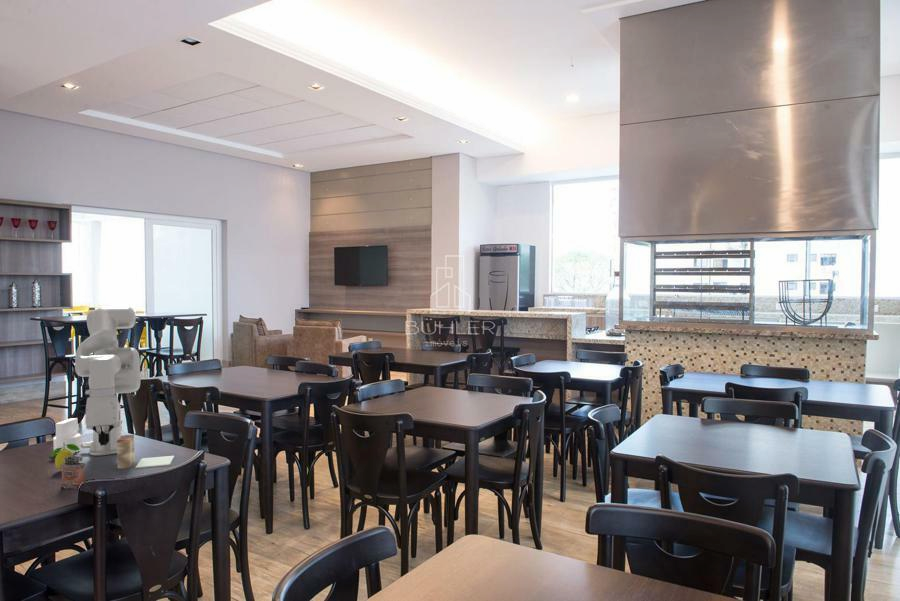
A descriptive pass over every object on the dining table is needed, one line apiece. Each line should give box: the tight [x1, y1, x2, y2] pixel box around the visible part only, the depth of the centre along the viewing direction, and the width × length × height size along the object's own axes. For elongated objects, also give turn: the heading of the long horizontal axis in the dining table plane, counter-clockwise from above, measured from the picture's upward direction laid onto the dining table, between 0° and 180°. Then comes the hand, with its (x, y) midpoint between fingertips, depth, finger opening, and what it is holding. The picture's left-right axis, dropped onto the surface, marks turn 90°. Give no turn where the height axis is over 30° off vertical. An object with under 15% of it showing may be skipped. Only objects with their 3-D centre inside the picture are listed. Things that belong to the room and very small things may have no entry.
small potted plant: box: [61, 454, 86, 490], centre depth 191 cm, size 8×3×10 cm, turn 76°
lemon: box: [50, 442, 80, 470], centre depth 208 cm, size 7×6×10 cm
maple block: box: [116, 434, 136, 469], centre depth 213 cm, size 4×7×10 cm, turn 17°
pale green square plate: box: [135, 455, 175, 469], centre depth 216 cm, size 11×11×1 cm
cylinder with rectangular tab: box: [52, 417, 82, 454], centre depth 232 cm, size 9×9×12 cm
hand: (104, 444), depth 211 cm, fingers closed
